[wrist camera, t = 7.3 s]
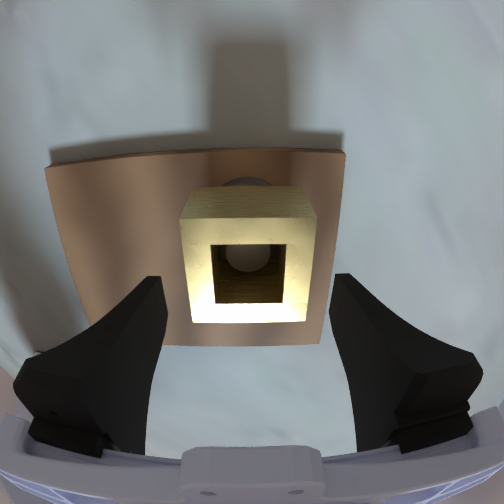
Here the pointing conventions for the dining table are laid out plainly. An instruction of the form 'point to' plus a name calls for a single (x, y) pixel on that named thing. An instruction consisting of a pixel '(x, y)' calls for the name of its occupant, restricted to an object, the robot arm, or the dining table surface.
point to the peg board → (169, 234)
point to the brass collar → (248, 232)
